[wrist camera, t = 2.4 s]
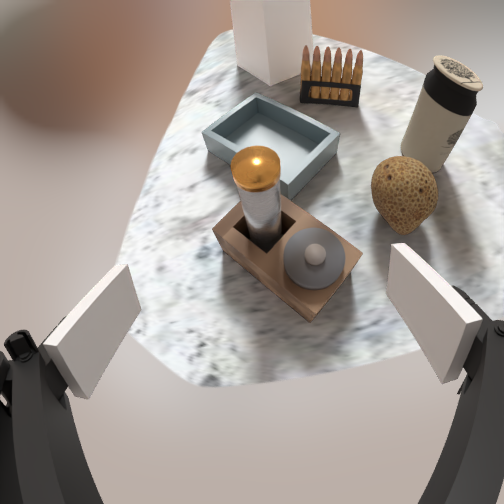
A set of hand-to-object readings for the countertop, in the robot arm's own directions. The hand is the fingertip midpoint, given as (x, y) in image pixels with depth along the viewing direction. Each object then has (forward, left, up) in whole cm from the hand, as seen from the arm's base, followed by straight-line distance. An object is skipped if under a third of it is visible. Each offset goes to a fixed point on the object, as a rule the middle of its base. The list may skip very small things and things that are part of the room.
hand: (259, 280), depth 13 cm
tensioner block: (+4, -7, -20) cm, 22 cm away
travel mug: (-2, -36, -20) cm, 42 cm away
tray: (+17, -20, -20) cm, 33 cm away
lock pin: (+7, -7, -20) cm, 23 cm away
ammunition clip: (+17, -36, -20) cm, 45 cm away
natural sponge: (-3, -22, -20) cm, 30 cm away
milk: (+33, -40, -20) cm, 56 cm away
